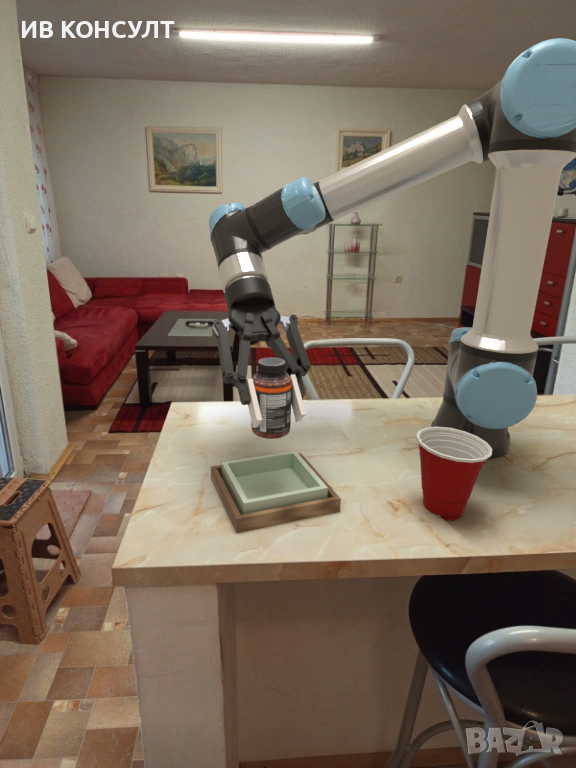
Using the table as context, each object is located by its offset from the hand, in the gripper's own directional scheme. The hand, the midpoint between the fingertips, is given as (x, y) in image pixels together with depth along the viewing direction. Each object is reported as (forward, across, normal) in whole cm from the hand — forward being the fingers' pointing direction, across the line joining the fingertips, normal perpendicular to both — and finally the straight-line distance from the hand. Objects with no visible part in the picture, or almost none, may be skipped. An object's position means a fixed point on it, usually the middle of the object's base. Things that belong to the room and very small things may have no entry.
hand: (279, 420), depth 73 cm
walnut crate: (+8, 0, -13) cm, 15 cm away
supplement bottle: (0, 0, -5) cm, 5 cm away
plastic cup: (+17, -24, -4) cm, 30 cm away
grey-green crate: (+8, 0, -12) cm, 14 cm away
